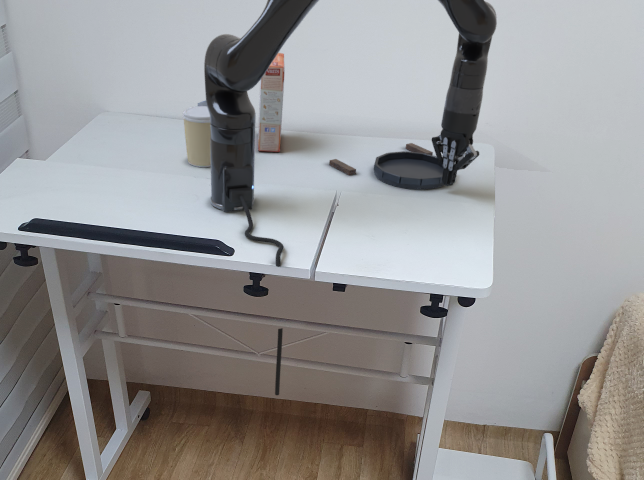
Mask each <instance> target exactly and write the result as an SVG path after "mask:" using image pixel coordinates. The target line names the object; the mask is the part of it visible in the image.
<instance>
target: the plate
mask: <svg viewBox="0 0 644 480" xmlns="http://www.w3.org/2000/svg"><path fill="white" fill-rule="evenodd" d="M443 170H444V168H443V165H442V164H441V163H439V162H438V160H437V157H436V155H429V154H426V153H425V154H424V153H418V152H412V151H409V150H408V151H404V150H403V151H402V150H401V151H389V152H386V153H383V154H381V155H378V156H376V157H375V160H374V164H373V175H374V177H375V178H377V180H378V181H381V182H382V183H384V184H386V185H390V186H393V187H397V188H401V189H407V190H433V189H438V188H441V187H443V186H445V185H443V184H442V182H443V181H442V175H443Z"/></svg>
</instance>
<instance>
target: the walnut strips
mask: <svg viewBox="0 0 644 480" xmlns="http://www.w3.org/2000/svg"><path fill="white" fill-rule="evenodd" d="M405 149H406V150H408V151H409V152H418V153H424V154H425V153H426V154H429V155H432V156H434V152H433V151H431V150H430V149H427V148H424V147H422V146H419V145H418V144H415V143H413V142H410V143H406V144H405ZM328 166H331V167H332V168H334V169H336V170H338V171H340V172H342V173H344V174H346V175H347V176H353V175H357V168H355V167H353V166H351V165H349V164H347V163H346V162H344V161H341V160H339V159H337V158H333V159H329V162H328Z"/></svg>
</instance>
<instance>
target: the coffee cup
mask: <svg viewBox="0 0 644 480" xmlns="http://www.w3.org/2000/svg"><path fill="white" fill-rule="evenodd" d="M182 118H183V127H184V139H185V147H186V157H187V162H188V164H189V165H191V166H193V167H197V168H209V167H210V168H211V151H210V114H209V111H208V108H207V106H198V105H196V106H195V105H194V106H190V107H187V108H185V110H183V113H182Z"/></svg>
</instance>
